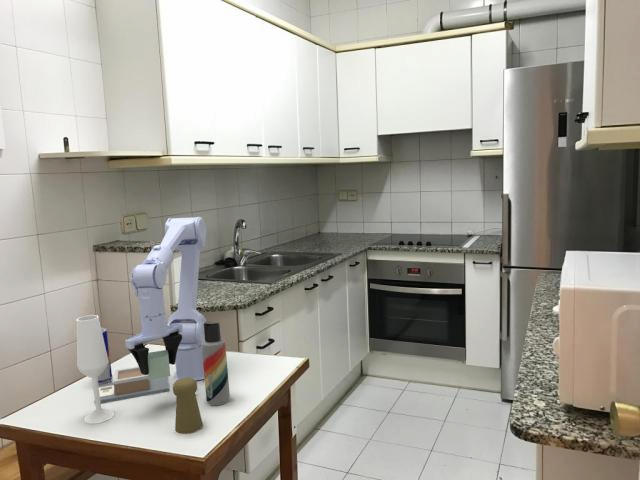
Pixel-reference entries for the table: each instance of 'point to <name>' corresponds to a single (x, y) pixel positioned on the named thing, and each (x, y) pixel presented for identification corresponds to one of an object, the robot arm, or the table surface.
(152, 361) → the sage block
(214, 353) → the lotion bottle
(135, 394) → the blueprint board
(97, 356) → the champagne flute
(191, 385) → the cork
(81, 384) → the table surface
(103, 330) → the beverage can
